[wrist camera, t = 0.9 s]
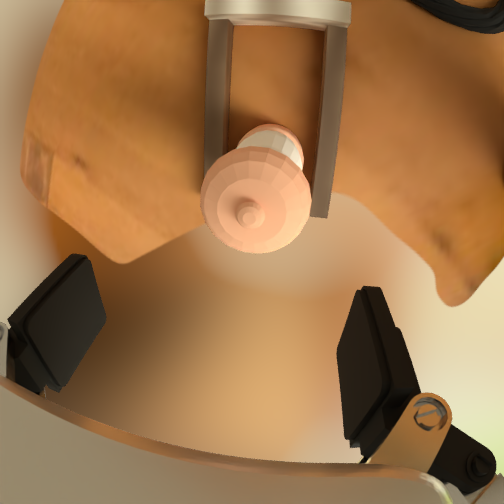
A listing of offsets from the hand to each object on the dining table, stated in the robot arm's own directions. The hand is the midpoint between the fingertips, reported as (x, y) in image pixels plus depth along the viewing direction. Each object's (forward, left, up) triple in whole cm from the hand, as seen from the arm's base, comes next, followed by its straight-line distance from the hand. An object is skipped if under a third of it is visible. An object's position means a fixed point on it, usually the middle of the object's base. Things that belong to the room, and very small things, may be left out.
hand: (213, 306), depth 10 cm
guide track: (0, -6, -27) cm, 27 cm away
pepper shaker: (0, 0, -27) cm, 27 cm away
